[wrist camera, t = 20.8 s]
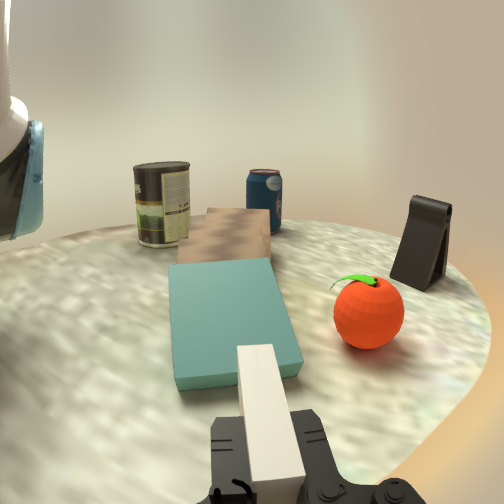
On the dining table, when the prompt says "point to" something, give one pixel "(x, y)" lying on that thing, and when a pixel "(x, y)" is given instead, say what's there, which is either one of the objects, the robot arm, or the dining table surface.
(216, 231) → the walnut domino
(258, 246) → the walnut domino
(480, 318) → the dining table surface
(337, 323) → the clementine
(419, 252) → the phone stand
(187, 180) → the coffee can
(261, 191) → the soda can
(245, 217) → the walnut domino
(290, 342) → the teal domino
